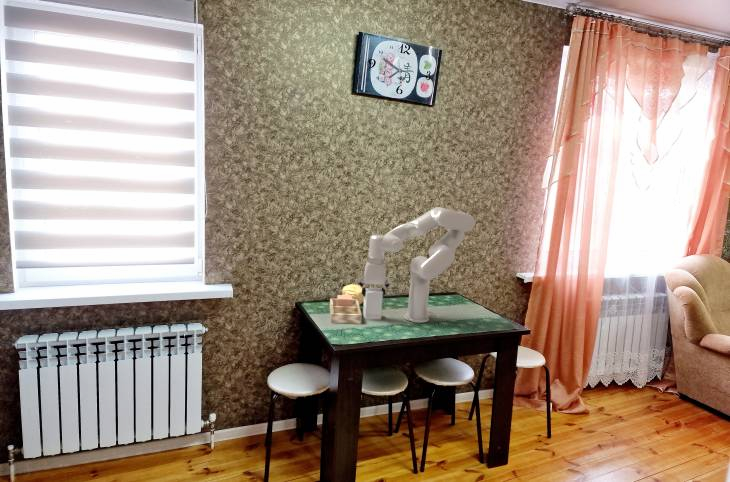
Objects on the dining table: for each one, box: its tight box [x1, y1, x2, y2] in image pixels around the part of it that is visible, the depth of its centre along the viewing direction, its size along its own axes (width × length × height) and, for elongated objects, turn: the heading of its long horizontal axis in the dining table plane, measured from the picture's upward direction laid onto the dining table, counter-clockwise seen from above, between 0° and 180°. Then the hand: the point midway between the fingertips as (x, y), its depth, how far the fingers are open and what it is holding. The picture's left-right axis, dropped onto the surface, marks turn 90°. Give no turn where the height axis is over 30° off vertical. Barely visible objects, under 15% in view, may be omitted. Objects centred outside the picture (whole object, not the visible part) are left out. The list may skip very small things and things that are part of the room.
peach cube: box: [336, 294, 352, 307], centre depth 235 cm, size 7×7×7 cm
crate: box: [329, 297, 363, 325], centre depth 230 cm, size 14×24×5 cm, turn 6°
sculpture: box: [341, 283, 364, 306], centre depth 249 cm, size 12×12×11 cm
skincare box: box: [362, 287, 384, 321], centre depth 227 cm, size 8×6×15 cm
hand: (373, 295), depth 226 cm, fingers closed on skincare box, 8 cm apart
